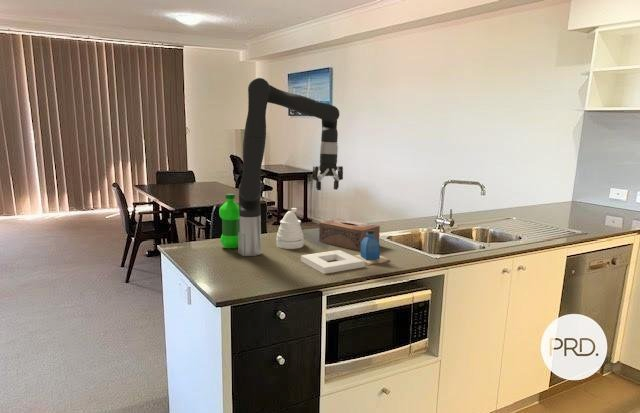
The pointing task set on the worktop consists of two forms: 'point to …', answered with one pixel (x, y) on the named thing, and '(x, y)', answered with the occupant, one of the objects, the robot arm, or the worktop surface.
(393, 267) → the worktop surface
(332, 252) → the socket block
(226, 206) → the plastic bottle
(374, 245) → the perfume bottle
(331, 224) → the tissue box cover
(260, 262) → the worktop surface
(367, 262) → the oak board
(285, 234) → the honey pot
